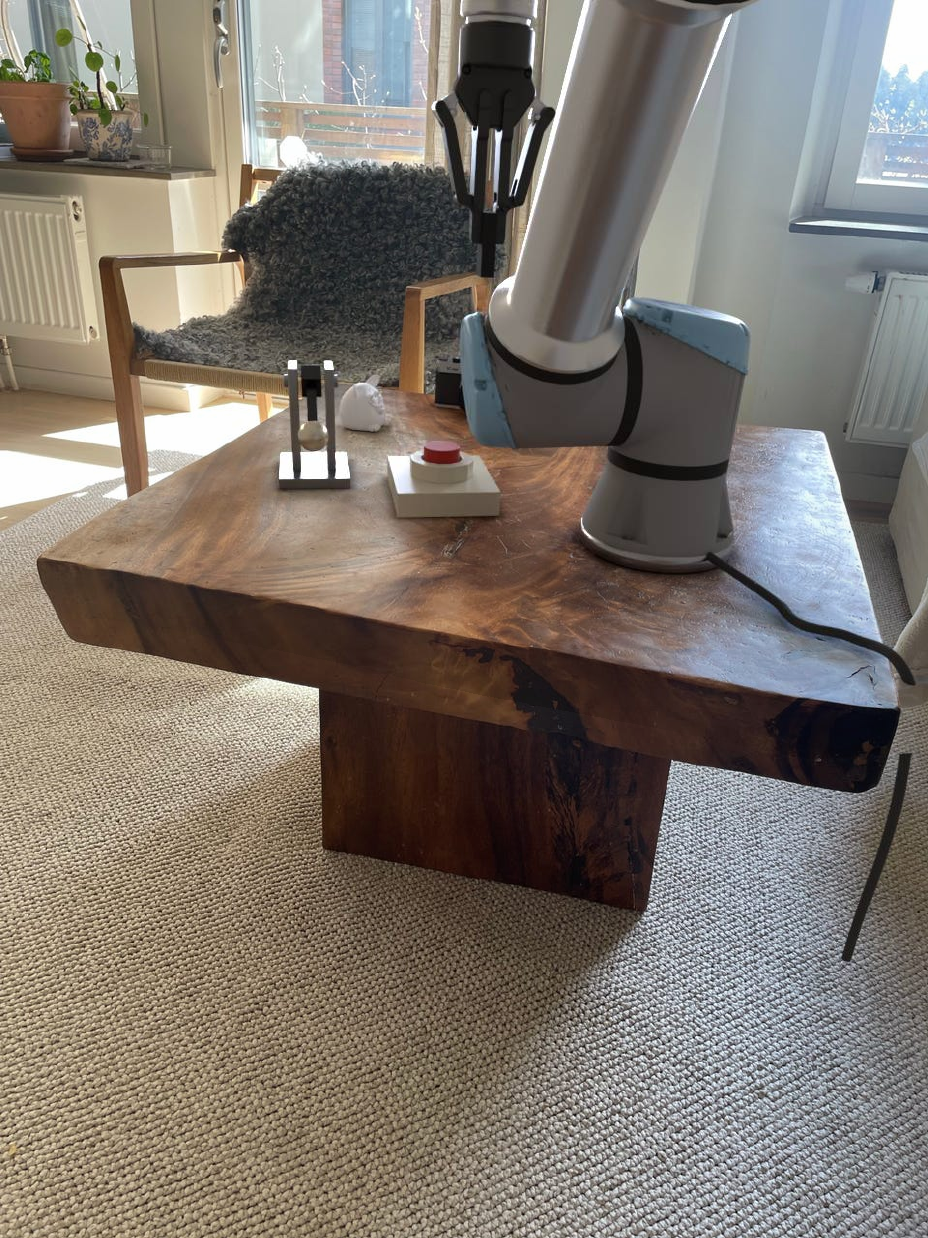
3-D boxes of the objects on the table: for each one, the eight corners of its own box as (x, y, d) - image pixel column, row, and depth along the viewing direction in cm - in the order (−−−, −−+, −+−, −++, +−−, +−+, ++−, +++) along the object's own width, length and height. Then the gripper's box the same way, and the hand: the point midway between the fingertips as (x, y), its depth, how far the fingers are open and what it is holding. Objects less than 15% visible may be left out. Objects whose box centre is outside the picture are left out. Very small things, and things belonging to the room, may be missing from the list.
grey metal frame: (350, 488, 102) (348, 375, 96) (279, 489, 100) (272, 374, 94) (346, 461, 110) (344, 355, 104) (281, 461, 109) (275, 355, 103)
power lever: (329, 457, 94) (328, 433, 92) (298, 457, 94) (297, 433, 91) (325, 385, 103) (324, 361, 100) (297, 385, 102) (296, 361, 100)
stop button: (462, 466, 97) (462, 450, 96) (425, 466, 97) (426, 451, 96) (456, 455, 101) (457, 440, 100) (421, 455, 100) (422, 440, 99)
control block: (499, 515, 96) (501, 475, 94) (397, 517, 94) (397, 476, 92) (478, 476, 107) (480, 440, 105) (387, 477, 105) (387, 440, 103)
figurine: (372, 436, 120) (372, 387, 117) (329, 429, 122) (328, 381, 119) (395, 421, 127) (395, 375, 124) (354, 416, 129) (354, 370, 126)
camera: (424, 414, 132) (429, 352, 128) (434, 400, 139) (440, 342, 134) (510, 428, 131) (518, 366, 126) (516, 414, 138) (524, 355, 133)
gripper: (551, 31, 93) (533, 272, 104) (427, 22, 90) (422, 270, 101) (571, 23, 86) (549, 281, 97) (439, 13, 84) (432, 279, 95)
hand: (484, 275), depth 99 cm, fingers closed
